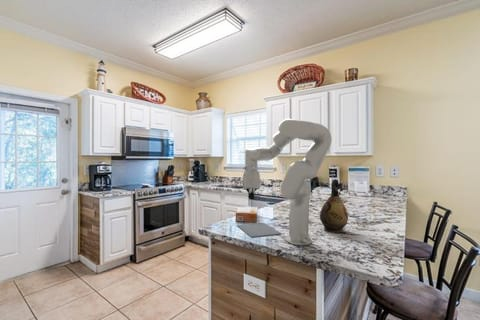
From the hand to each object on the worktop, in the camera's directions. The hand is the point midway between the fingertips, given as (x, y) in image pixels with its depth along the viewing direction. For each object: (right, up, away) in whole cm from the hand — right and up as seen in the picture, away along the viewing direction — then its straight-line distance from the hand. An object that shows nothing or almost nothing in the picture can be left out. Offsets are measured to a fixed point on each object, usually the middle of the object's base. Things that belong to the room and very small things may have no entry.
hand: (251, 199), depth 143 cm
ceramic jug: (+49, -18, -3) cm, 52 cm away
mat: (+4, -17, -5) cm, 18 cm away
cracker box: (-3, -14, +10) cm, 18 cm away
